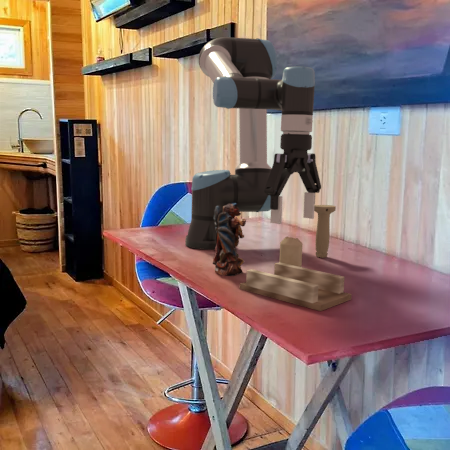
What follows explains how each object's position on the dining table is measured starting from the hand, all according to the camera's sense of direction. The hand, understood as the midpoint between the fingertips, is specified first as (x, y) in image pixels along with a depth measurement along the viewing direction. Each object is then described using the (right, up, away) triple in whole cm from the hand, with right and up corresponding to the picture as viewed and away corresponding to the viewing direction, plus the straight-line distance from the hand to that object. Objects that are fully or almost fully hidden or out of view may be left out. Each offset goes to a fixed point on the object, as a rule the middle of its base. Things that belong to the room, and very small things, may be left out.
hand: (292, 220), depth 139 cm
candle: (0, -14, +3) cm, 14 cm away
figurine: (-15, -13, +5) cm, 21 cm away
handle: (+11, -11, +25) cm, 30 cm away
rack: (-1, -16, -13) cm, 21 cm away
